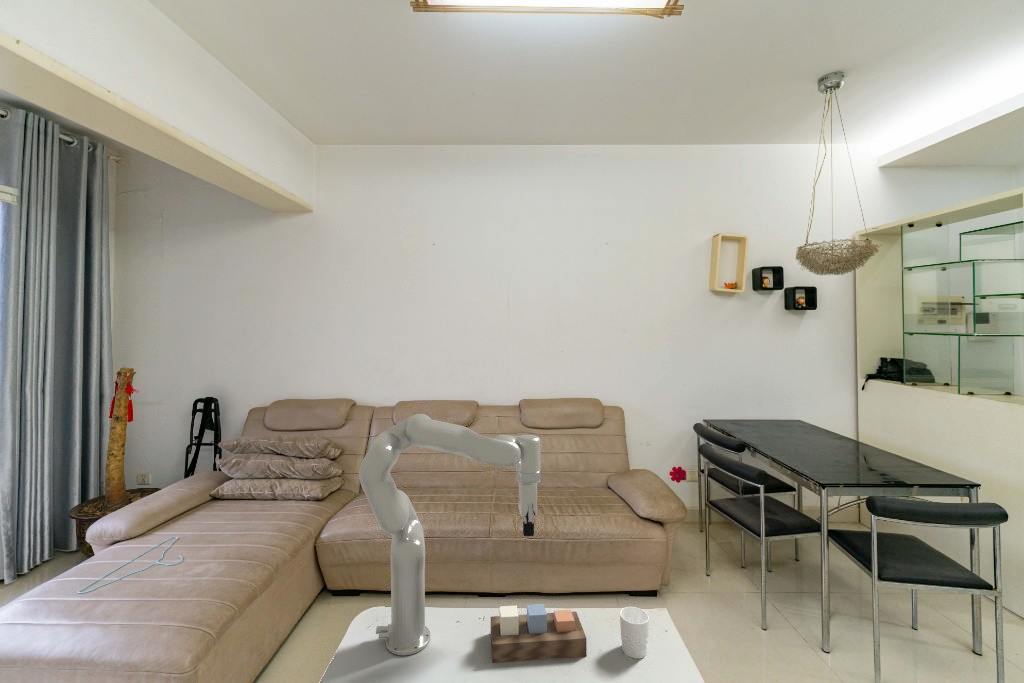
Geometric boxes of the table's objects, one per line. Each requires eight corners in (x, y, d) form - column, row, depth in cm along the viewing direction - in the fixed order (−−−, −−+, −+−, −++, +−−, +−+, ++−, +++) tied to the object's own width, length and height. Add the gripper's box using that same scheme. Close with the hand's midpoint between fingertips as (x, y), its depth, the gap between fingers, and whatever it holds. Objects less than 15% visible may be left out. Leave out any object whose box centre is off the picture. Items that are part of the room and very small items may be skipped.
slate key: (529, 636, 123) (529, 615, 123) (527, 625, 128) (526, 604, 128) (546, 635, 123) (546, 614, 123) (543, 624, 128) (543, 603, 128)
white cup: (650, 645, 125) (650, 610, 125) (646, 664, 118) (646, 627, 118) (622, 637, 128) (622, 603, 128) (617, 655, 121) (617, 619, 121)
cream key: (500, 638, 122) (500, 617, 122) (499, 627, 127) (499, 606, 127) (518, 637, 123) (518, 616, 123) (516, 626, 128) (516, 605, 128)
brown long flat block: (492, 662, 118) (492, 644, 118) (490, 633, 130) (490, 616, 130) (586, 656, 121) (586, 638, 121) (576, 627, 133) (576, 611, 133)
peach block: (557, 642, 124) (557, 621, 124) (554, 631, 129) (553, 610, 129) (574, 641, 124) (574, 620, 124) (570, 630, 129) (570, 609, 129)
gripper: (514, 469, 143) (514, 525, 143) (518, 484, 128) (519, 546, 128) (536, 468, 143) (537, 524, 143) (544, 483, 128) (544, 545, 128)
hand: (528, 534), depth 135 cm, fingers closed
